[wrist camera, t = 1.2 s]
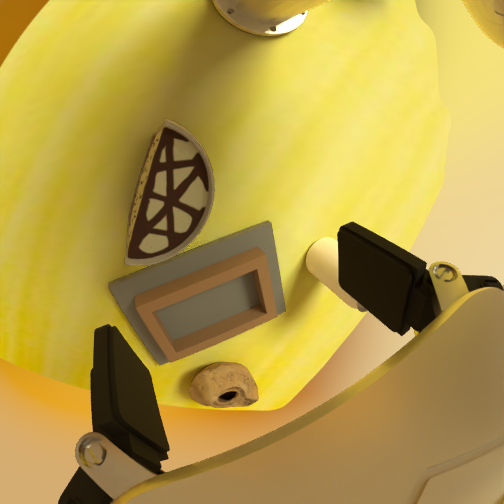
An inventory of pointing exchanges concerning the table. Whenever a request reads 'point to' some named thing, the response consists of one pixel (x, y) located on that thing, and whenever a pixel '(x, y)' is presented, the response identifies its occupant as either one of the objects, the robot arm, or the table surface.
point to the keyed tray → (204, 294)
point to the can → (328, 268)
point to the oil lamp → (224, 386)
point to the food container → (169, 197)
